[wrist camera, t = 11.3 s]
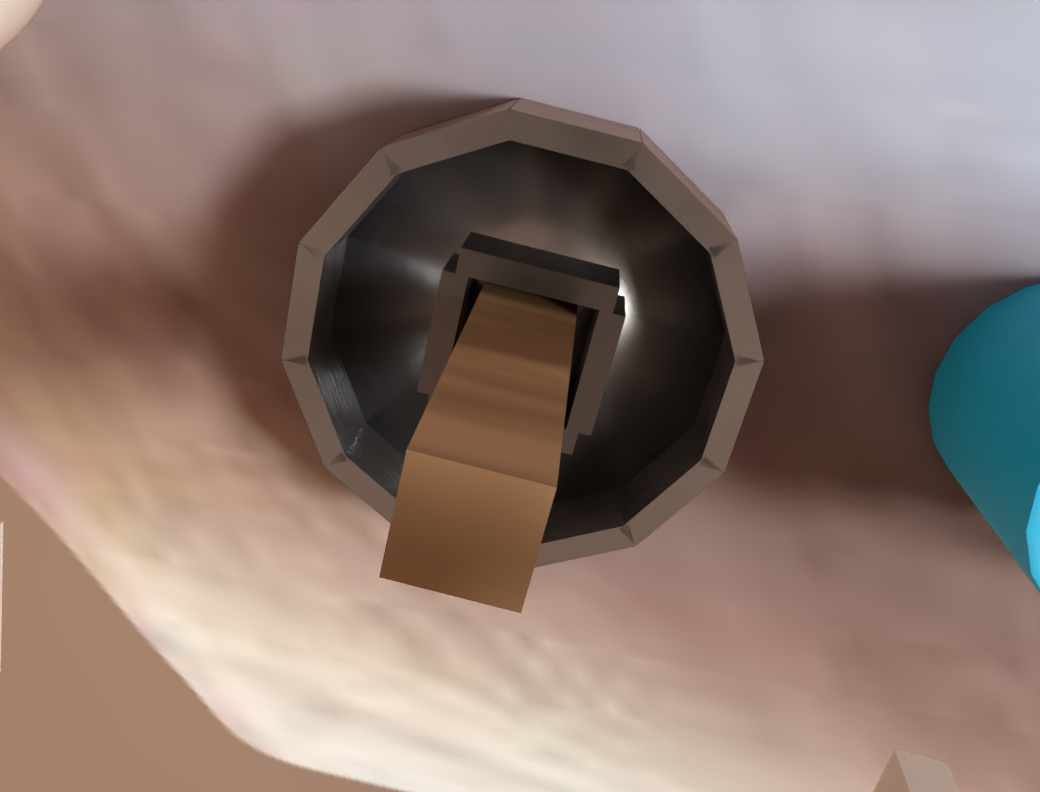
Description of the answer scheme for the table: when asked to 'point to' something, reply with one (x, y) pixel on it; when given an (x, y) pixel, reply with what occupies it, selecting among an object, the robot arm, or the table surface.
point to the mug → (996, 420)
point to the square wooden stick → (486, 454)
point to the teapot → (16, 17)
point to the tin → (540, 270)
